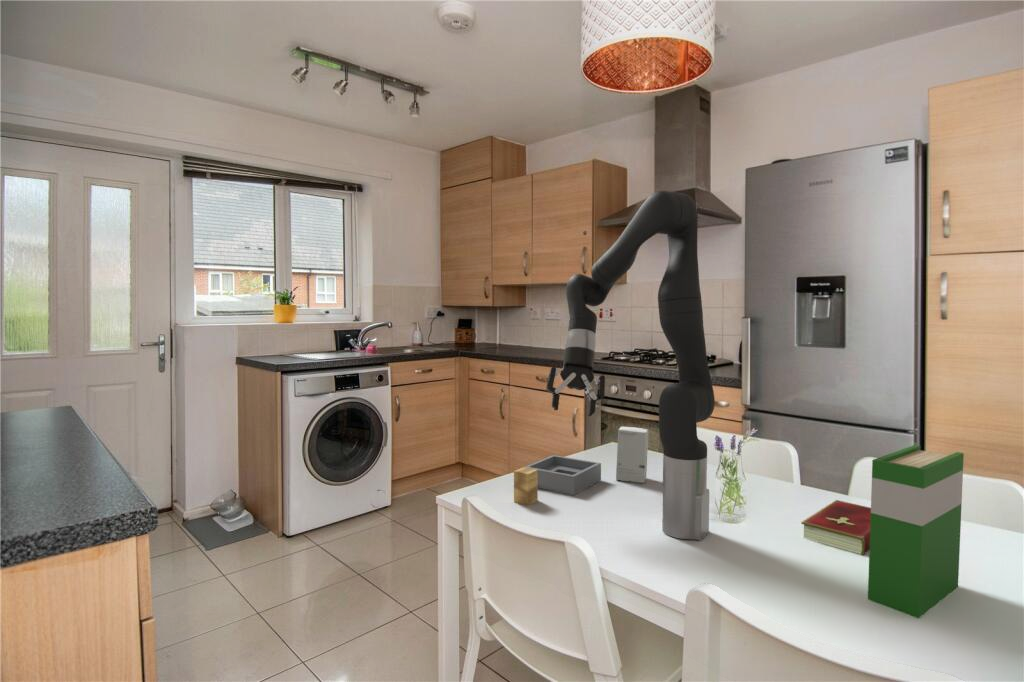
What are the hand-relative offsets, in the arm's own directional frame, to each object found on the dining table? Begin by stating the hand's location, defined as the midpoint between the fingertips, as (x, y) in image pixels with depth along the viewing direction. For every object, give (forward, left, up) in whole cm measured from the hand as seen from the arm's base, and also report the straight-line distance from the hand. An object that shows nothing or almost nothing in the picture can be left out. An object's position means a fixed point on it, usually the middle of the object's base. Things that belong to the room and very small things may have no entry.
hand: (572, 412), depth 140 cm
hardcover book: (-57, -21, -25) cm, 66 cm away
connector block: (+12, +2, -24) cm, 27 cm away
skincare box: (-3, -31, -24) cm, 39 cm away
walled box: (+12, -17, -24) cm, 32 cm away
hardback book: (-69, +3, -24) cm, 73 cm away
